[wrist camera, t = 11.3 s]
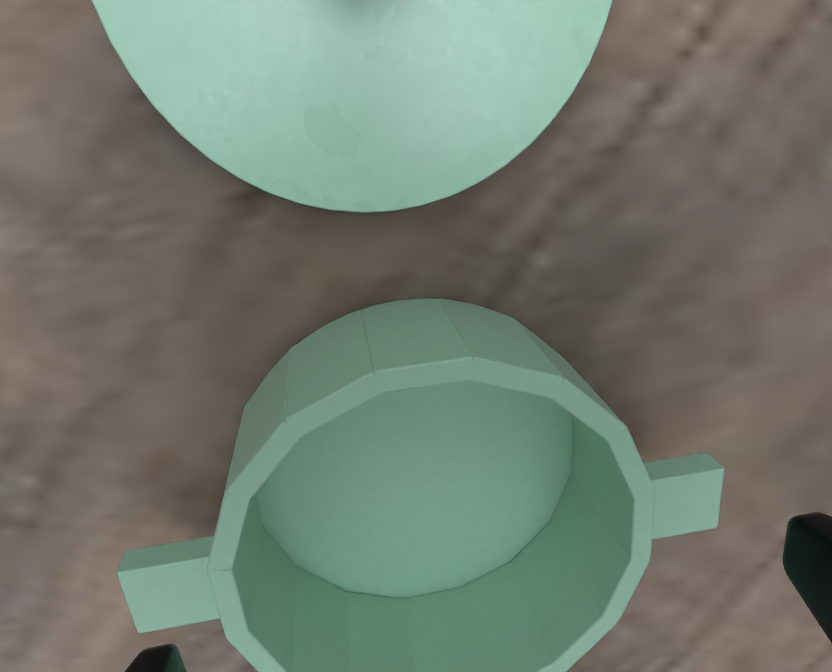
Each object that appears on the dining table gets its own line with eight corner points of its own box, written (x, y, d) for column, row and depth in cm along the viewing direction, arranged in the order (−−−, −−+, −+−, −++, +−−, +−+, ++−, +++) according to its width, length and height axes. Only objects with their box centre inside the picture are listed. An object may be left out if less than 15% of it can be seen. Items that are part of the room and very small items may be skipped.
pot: (642, 560, 27) (714, 664, 22) (203, 642, 25) (176, 775, 20) (661, 264, 22) (760, 314, 17) (111, 338, 20) (44, 419, 15)
